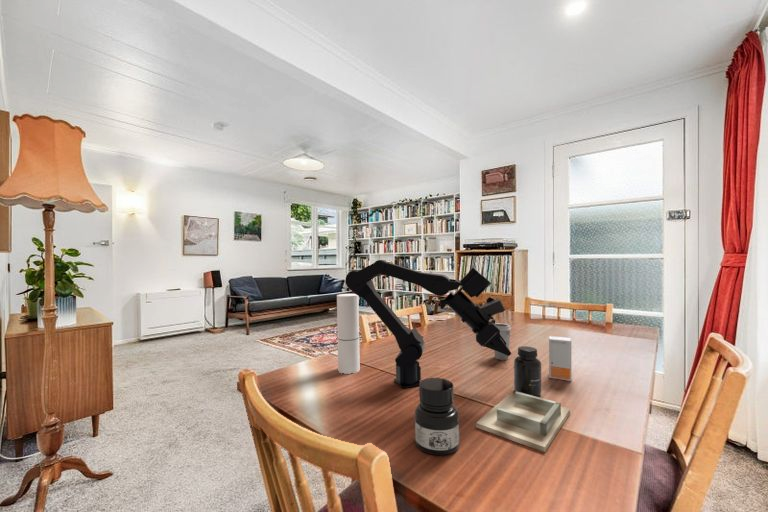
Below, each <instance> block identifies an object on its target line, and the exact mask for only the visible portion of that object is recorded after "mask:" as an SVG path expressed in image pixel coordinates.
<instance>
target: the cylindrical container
mask: <svg viewBox="0 0 768 512" xmlns="http://www.w3.org/2000/svg"><path fill="white" fill-rule="evenodd" d="M359 299H360V298H359V296H358V295H356V294H355V293H340V294H336V318H337V319H336V320H337V322H336V323H337V324H336V325H337V372H338V371H339V372H338V373H340V374H342V373H344V374H343V375H351V373H353V374H356V373H358V372H359V371H360V369H361V367H360V366H361V365H360V364H361V361H360V360H361V358H360V308H359V307H360V306H359V301H360V300H359Z"/></svg>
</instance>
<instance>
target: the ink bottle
mask: <svg viewBox="0 0 768 512" xmlns="http://www.w3.org/2000/svg"><path fill="white" fill-rule="evenodd" d="M418 391H419V392H418V393H419V395H418V396H419V403H418V404H417V406H415V409H414V441H415V445H416V446H417V447H418V449H419V450H420V451H422V452H424V453H427V454H430V455H435V456H445V455H451V454H453V453H455V452H456V451H457V450H459V449H458V448H459V446H460V414H459V411H458V409H457V408H456V406H455V405H454V395H455V393H454V384H453V382H451V381H450V380H449V379H445V378H441V377H428V378H424V379H421V380H420V382H419V388H418Z"/></svg>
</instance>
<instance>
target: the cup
mask: <svg viewBox="0 0 768 512" xmlns="http://www.w3.org/2000/svg"><path fill="white" fill-rule="evenodd" d="M495 325H496V326H497V327H498V328H499V330H500V335H501V336H502V338H503V339H504V340H505V342H506V343H507V344H506V346H507V348H508V349H509V350H510V344H511V340H510V339H511V332H510V331H512V328H511V326H510V324H508V323H503V322H500V323H498V322H497V323H496V322H495ZM493 353H494V359H495V360H498V359H499V361H507V360H509V356H507V355H505V354H502V353H500V352H498V351H495V350H493Z"/></svg>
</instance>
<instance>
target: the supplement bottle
mask: <svg viewBox="0 0 768 512" xmlns="http://www.w3.org/2000/svg"><path fill="white" fill-rule="evenodd" d="M517 355H518V356H516V357H514V360H513V388H514V391H515V392H516V391H517V392H520V393H524V394H528V395H532V396H536V397H539V396H541V395H542V362H541V361H540V359H538V349H537V348H536V347H534V346H533V347H532V346H522V345H521V346H518V347H517ZM515 392H514V393H515Z"/></svg>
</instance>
